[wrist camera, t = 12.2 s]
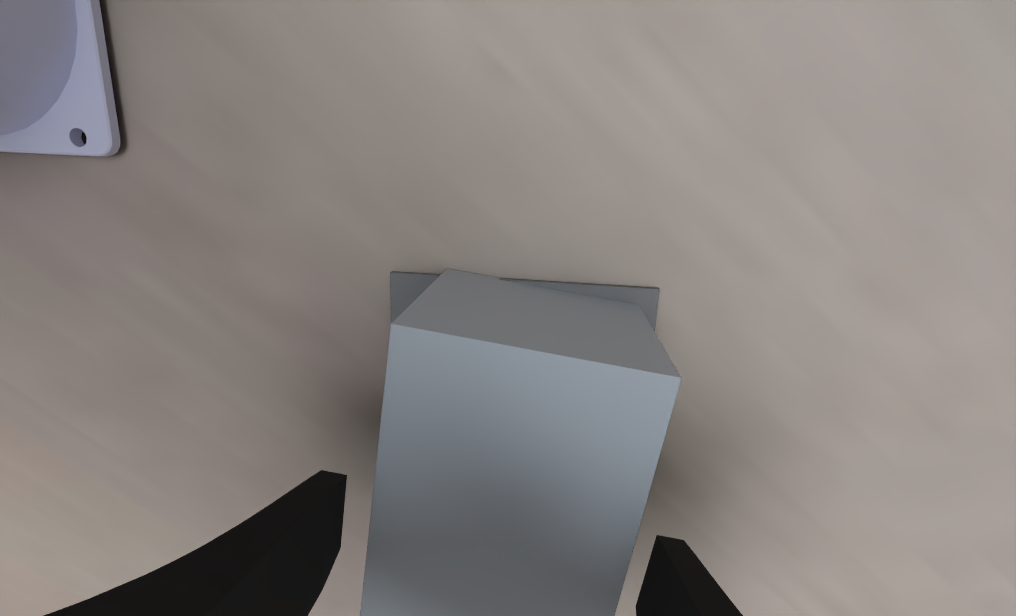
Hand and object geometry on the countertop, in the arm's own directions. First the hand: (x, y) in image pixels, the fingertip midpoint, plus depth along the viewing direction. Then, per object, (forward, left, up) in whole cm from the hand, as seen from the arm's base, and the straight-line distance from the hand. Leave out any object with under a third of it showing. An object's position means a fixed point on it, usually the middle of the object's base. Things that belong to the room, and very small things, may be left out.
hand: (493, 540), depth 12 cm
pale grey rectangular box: (0, 0, -5) cm, 5 cm away
